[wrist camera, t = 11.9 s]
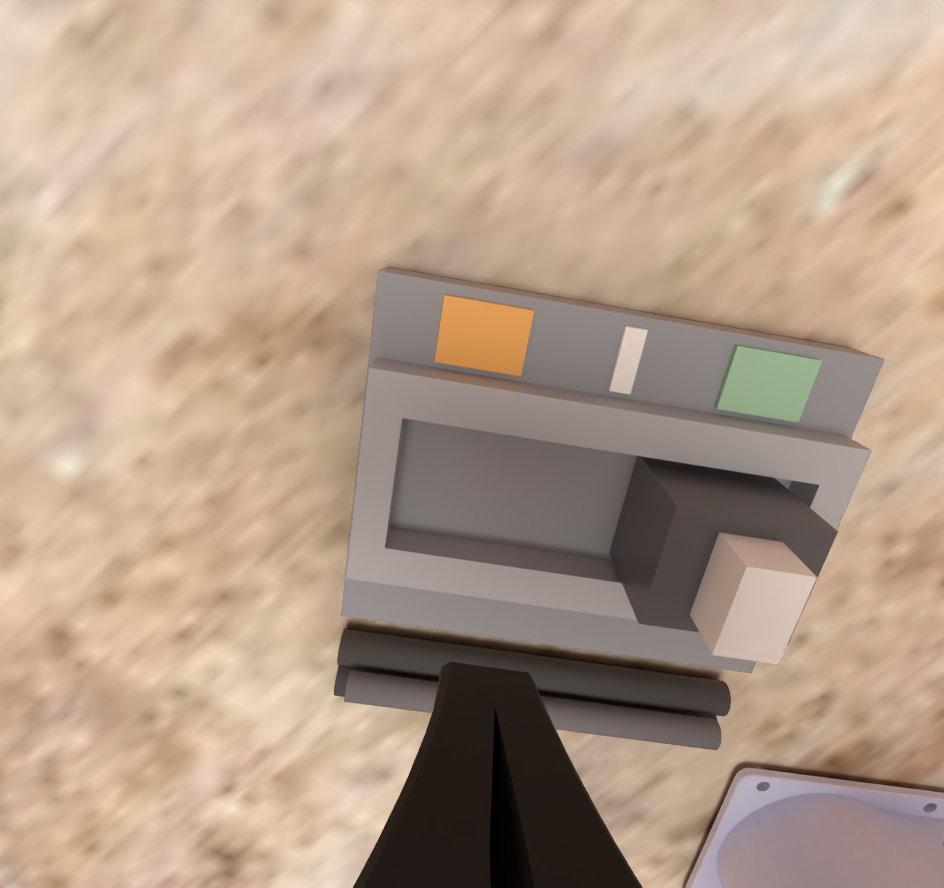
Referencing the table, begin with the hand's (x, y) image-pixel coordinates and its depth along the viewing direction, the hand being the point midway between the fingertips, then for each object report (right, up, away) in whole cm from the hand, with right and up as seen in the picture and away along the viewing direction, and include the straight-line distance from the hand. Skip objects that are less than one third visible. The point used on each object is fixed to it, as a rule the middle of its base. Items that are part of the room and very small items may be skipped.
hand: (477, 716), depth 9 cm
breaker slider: (+6, +2, +9) cm, 11 cm away
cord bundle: (+2, -4, +13) cm, 13 cm away
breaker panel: (+3, +3, +10) cm, 11 cm away
